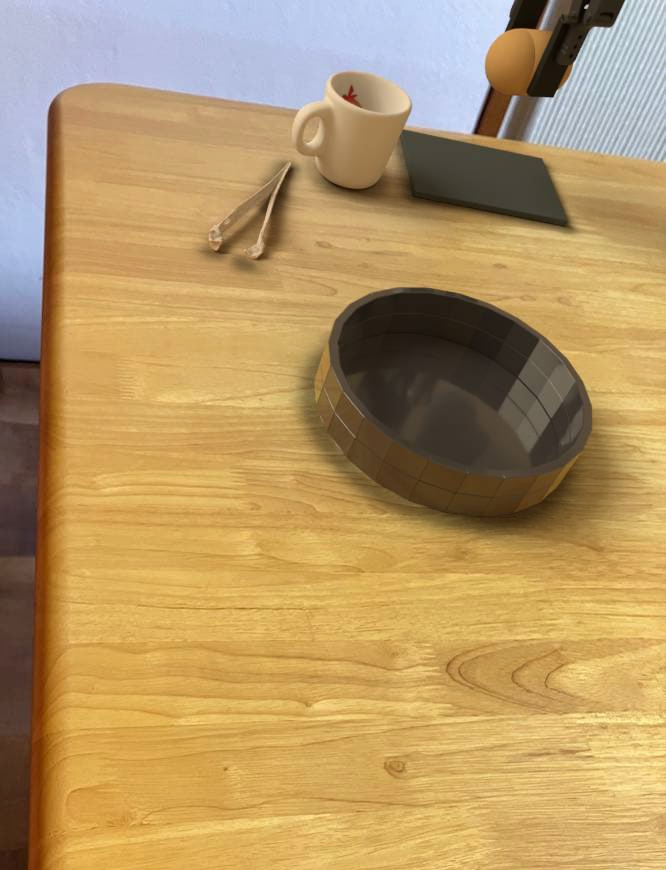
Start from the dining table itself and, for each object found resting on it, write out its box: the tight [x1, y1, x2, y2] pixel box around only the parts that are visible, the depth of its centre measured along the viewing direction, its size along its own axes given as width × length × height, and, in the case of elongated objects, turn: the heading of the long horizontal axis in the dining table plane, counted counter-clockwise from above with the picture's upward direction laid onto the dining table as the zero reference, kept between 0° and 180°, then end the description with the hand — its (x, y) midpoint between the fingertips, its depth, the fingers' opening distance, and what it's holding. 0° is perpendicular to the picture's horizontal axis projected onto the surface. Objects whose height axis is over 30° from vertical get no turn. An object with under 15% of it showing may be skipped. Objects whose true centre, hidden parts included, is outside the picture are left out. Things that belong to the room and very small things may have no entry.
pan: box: [313, 286, 593, 517], centre depth 64 cm, size 19×19×4 cm
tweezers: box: [208, 161, 292, 260], centre depth 78 cm, size 18×5×2 cm, turn 162°
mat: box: [399, 128, 569, 227], centre depth 90 cm, size 16×12×1 cm
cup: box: [291, 70, 413, 190], centre depth 81 cm, size 11×8×8 cm
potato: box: [484, 28, 574, 97], centre depth 81 cm, size 9×5×5 cm, turn 111°
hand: (523, 77), depth 82 cm, fingers closed on potato, 5 cm apart
